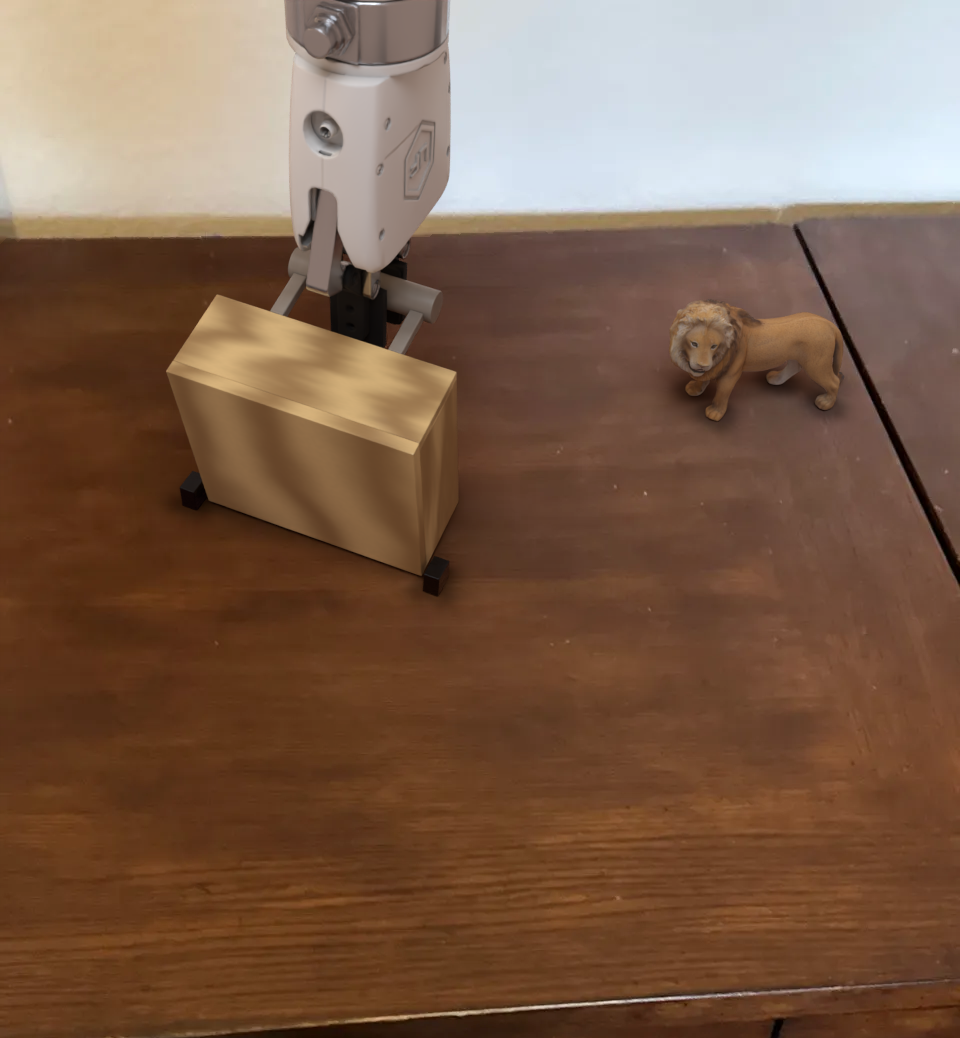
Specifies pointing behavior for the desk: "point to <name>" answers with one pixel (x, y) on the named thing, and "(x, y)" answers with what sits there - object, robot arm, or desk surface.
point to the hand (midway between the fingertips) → (368, 327)
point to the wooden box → (323, 423)
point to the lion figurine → (753, 349)
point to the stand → (433, 575)
